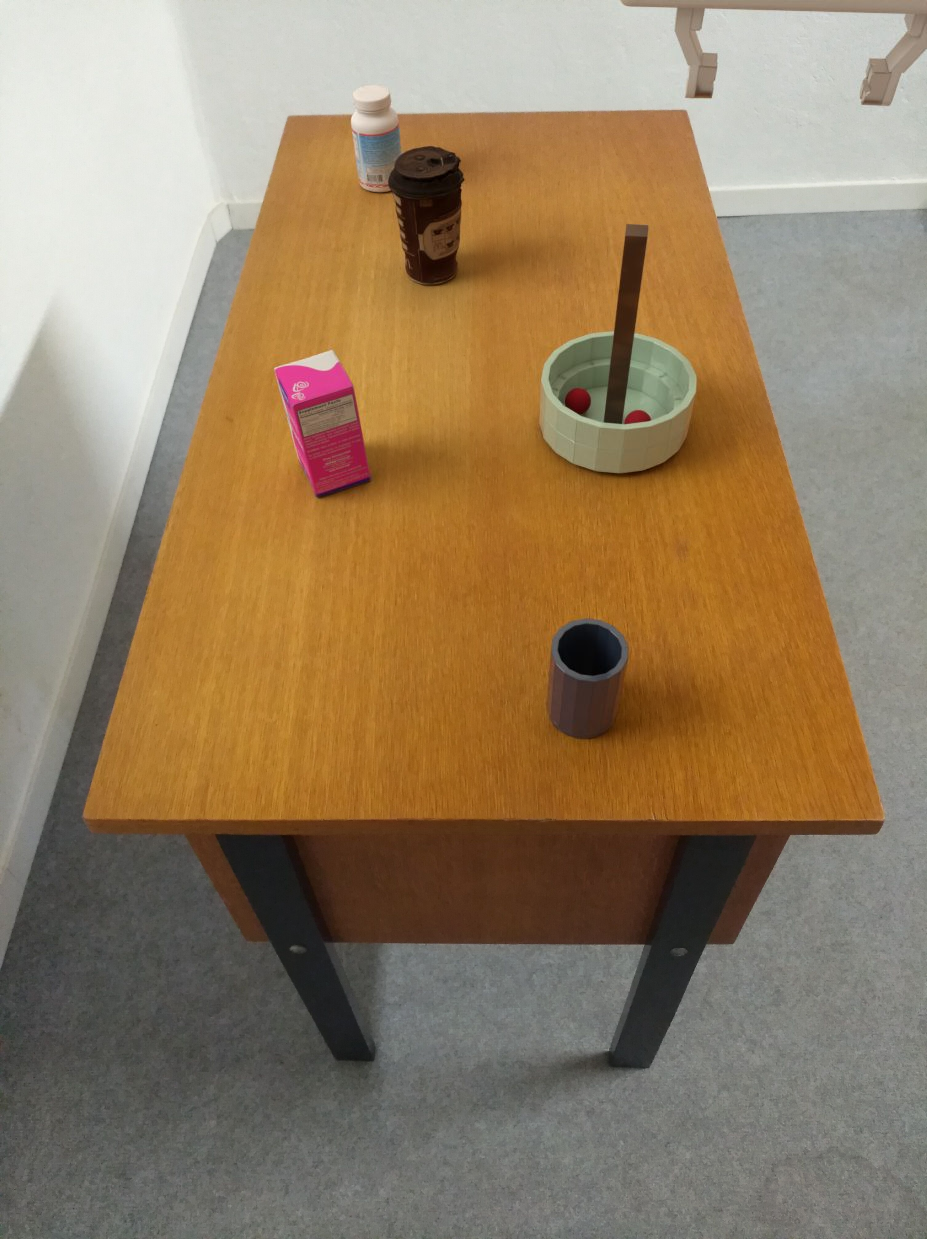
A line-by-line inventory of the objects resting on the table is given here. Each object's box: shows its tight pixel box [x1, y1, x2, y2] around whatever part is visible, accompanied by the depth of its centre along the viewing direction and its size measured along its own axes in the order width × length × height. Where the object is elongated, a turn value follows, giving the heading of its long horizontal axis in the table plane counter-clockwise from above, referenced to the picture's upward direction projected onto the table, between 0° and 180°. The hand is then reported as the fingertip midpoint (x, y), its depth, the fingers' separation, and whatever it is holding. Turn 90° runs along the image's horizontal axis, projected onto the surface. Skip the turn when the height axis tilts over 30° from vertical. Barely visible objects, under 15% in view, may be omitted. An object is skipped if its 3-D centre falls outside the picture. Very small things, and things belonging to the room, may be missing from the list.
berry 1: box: [565, 388, 591, 415], centre depth 88 cm, size 3×3×3 cm
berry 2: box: [624, 410, 651, 424], centre depth 86 cm, size 3×3×3 cm
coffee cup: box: [388, 145, 466, 285], centre depth 101 cm, size 9×8×13 cm
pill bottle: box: [350, 84, 403, 193], centre depth 115 cm, size 6×6×11 cm
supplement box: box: [273, 349, 372, 499], centre depth 82 cm, size 6×6×12 cm
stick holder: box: [546, 617, 630, 740], centre depth 66 cm, size 5×5×8 cm
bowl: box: [538, 330, 698, 474], centre depth 86 cm, size 14×14×6 cm
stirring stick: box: [604, 223, 649, 424], centre depth 80 cm, size 2×2×20 cm
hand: (785, 98), depth 49 cm, fingers open, 8 cm apart
